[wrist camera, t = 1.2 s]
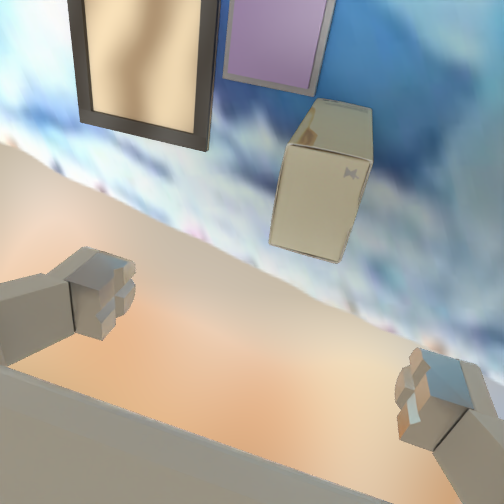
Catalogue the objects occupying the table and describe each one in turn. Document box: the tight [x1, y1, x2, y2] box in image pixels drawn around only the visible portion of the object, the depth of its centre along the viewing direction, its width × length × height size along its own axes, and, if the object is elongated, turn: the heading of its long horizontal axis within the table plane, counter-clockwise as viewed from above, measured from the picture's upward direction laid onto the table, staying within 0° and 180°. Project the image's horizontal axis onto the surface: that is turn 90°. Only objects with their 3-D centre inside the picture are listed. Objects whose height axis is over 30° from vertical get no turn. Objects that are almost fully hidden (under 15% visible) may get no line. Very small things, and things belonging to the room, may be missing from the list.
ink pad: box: [223, 0, 337, 97], centre depth 25 cm, size 7×7×2 cm
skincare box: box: [268, 98, 373, 264], centre depth 24 cm, size 6×4×12 cm
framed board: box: [67, 0, 221, 152], centre depth 29 cm, size 12×12×1 cm
